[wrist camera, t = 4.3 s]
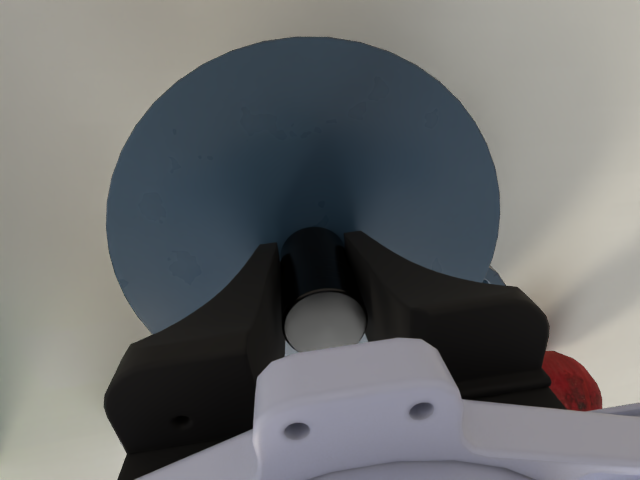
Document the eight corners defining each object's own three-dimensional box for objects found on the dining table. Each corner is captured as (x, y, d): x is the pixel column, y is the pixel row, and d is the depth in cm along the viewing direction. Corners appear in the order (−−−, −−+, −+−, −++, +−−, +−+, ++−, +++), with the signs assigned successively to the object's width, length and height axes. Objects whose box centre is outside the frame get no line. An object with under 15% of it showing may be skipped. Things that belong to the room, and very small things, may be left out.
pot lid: (349, 410, 19) (371, 519, 15) (60, 296, 15) (-35, 405, 10) (558, 187, 15) (681, 247, 10) (237, -79, 10) (205, -181, 6)
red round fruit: (498, 332, 30) (566, 419, 23) (565, 326, 31) (653, 410, 24) (485, 384, 33) (542, 477, 26) (547, 378, 33) (621, 467, 26)
